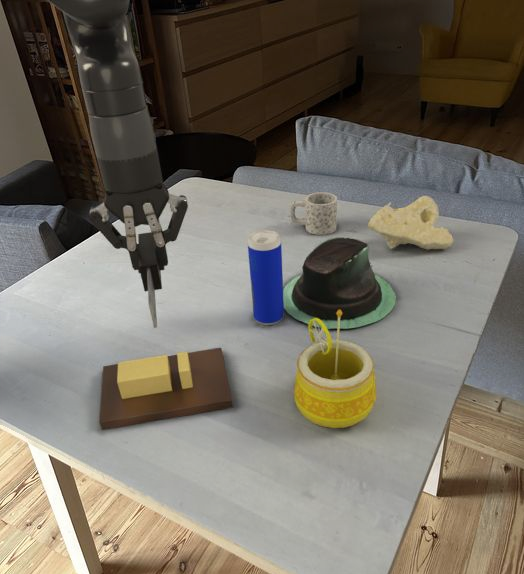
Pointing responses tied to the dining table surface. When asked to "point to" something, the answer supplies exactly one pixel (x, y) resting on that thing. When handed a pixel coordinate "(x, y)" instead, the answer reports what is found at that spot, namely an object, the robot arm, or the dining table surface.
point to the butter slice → (184, 370)
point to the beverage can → (266, 276)
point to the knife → (149, 270)
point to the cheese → (412, 225)
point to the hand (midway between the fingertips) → (151, 268)
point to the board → (169, 393)
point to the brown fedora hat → (339, 287)
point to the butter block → (144, 376)
